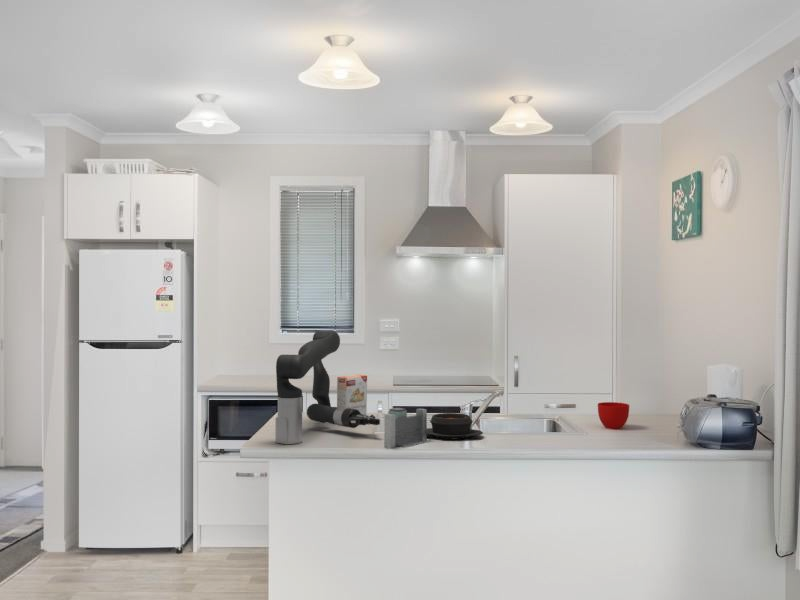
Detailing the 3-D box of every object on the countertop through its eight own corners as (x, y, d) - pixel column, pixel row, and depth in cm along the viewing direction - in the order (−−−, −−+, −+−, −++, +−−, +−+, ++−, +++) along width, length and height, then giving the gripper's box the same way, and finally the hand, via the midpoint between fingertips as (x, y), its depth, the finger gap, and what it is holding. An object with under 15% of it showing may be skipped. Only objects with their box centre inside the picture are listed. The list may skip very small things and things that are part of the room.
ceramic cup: (624, 424, 333) (624, 401, 333) (632, 430, 317) (632, 406, 317) (593, 423, 335) (594, 400, 335) (600, 430, 318) (600, 406, 318)
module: (398, 444, 286) (398, 410, 286) (388, 442, 290) (388, 408, 290) (406, 442, 290) (406, 408, 290) (396, 440, 293) (397, 407, 293)
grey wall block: (395, 449, 277) (395, 416, 277) (384, 447, 280) (384, 414, 280) (431, 441, 292) (431, 409, 292) (420, 439, 296) (420, 408, 296)
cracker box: (346, 426, 325) (346, 377, 325) (336, 425, 329) (336, 376, 328) (367, 422, 336) (367, 374, 336) (357, 420, 340) (357, 374, 340)
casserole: (483, 433, 309) (483, 413, 309) (481, 442, 291) (481, 420, 291) (422, 431, 313) (422, 411, 313) (416, 440, 295) (416, 418, 295)
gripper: (335, 410, 303) (367, 414, 291) (358, 406, 313) (389, 410, 301) (335, 428, 303) (367, 434, 291) (358, 424, 313) (389, 429, 301)
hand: (378, 422), depth 296 cm, fingers closed
